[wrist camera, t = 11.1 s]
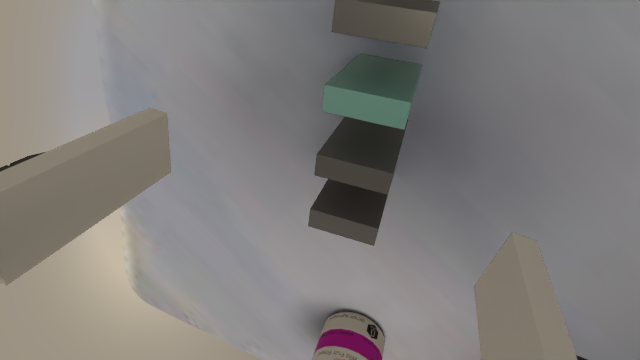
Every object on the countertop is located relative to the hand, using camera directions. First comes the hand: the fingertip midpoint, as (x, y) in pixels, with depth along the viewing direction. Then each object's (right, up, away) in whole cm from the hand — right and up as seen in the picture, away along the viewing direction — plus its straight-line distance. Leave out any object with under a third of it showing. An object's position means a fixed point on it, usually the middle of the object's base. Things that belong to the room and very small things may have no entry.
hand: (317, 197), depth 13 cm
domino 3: (+5, +6, +17) cm, 19 cm away
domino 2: (+6, +10, +15) cm, 19 cm away
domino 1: (+6, +13, +12) cm, 19 cm away
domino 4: (+5, +2, +20) cm, 20 cm away
